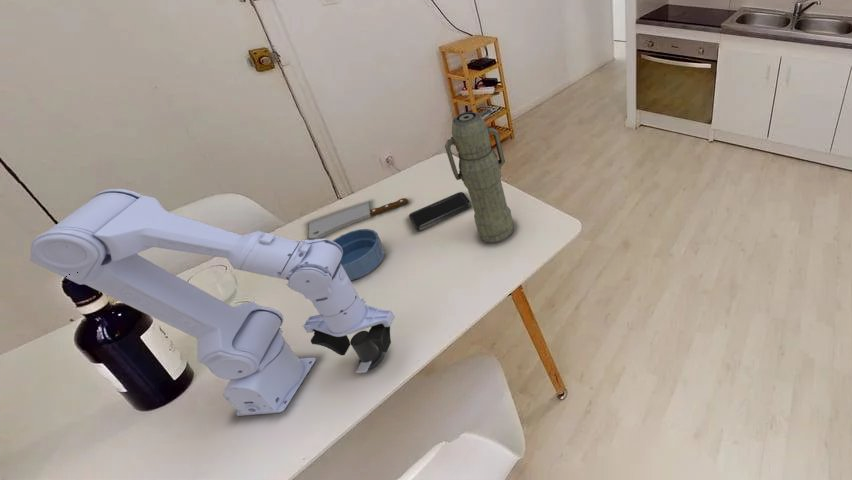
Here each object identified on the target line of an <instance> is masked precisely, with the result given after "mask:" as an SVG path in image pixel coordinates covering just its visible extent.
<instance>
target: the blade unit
mask: <svg viewBox="0 0 852 480" xmlns="http://www.w3.org/2000/svg"><path fill="white" fill-rule="evenodd" d="M368 332H369V330H360V331H357V332H355V333H354V335H353V336H352V337H351V339H350V340H349V341H350V346H351V347H352V349H353V351H354V352H355V353H356V355H357V357H358V358H359V360H358V367H357V369H356V372H355V374H365V373H367V372H368V371H370V370H374V369H375V368H376V367H378V366H379V365H380V364H381V363H382V362H383V360H384V358H385V352H381V351H380V350H379V349H378V347H377V346H376V345H375V344H374V343H373V342H371V341H369V340H365V337H366V336H367V334H368Z"/></svg>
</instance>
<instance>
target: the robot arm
mask: <svg viewBox="0 0 852 480" xmlns="http://www.w3.org/2000/svg"><path fill="white" fill-rule="evenodd" d="M153 248H156V249H157V248H158V249H163V250H170V251H177V252H184V253H190V254H196V255H203V256H211V257H216V258H217V257H218V258H223V259H227V260H228V262H229V264H230V265H231V268H232V269H234V270H238V271H243V272H247V273H251V274H258V275H261V276H266V277H270V278H275V279H281V280H284V281H285V280H286V281H287V283H286V286H287V287H288V288H289V289H291V290H292V291H294V292H297V293H300V294H302V295H303V296H304V298H305V299H306V300H309V301H310V302H311V304H312V305H313V307H314V308H315V310H316V311H317V313H318V314H316V315H310V316H309V317H308V318H307V320H306V321H305V322H304V324H303V325H302V327H303V329H304V331H306V333H313V336H312V337H311V339H310V343H311V344H312V345H317V346H321V347H324V348H326V349H329V350H331V351H332V352H334V353H335V354H337V355H340V356H345V355H346V353H347V352H348V350H349V348H350V346H351V344H350V341H351V340H350V339H349V337H348V335H351V334H355V333H358V332H360V331H364V330H366V329H369V328H370V329H369V330H368V334H367V336H366V337H365V340H369V341H371V342H373V343H374V344H375V345H376V346H377V347H378V349H379V350H380V351H381V352H384V353H387V352H388V349H389V347H390V346H391V344H392V341H391V326H392V324H393V322H394V320H395V318H396V317H395V314H394V312H393V310H392V309H391V310H390V309H389V310H387V309H381V308H378V307H375V306H372V305H368V304H366V302H367V301H366V299H365V298H361V297H360V295H359V293H358V292H357V290H356V288H355V286H354V285H353V283H352V280H350V279H349V277H348V275H347V274H346V272H345V270H344V268H343V267H342V265H341V264H340V261H341V258H342V255H343V250H342V248H341V246H340V245H338V244H337V243H335V242H333V240H330V239H328V238H320V239H315V240H310V239H302V240H301V241H299V240H296V239H292V238H287V237H284V236H280V235H277V234H272V233H269V232H264V231H260V230H255V231H252V232H249V233H245V234H239V233H236V232H232V231H229V230H227V229H224V228H221V227H217V226H215V225H211V224H208V223H205V222H202V221H198V220H195V219H193V218H189V217H186V216H184V215H180V214H177V213H173V212H170V211H167V210H166V209H164V207H163V206H162V204H161V202H160V201H159V200H158V199H157V198H156V197H154V196H149V195H142V194H141V193H139V192H136V191H133V190H130V189H124V188H109V189H105V190H102V191H99V192H97V193H96V194H95V195H93V196H92V198H91V199H90V200H88V201H87V202H86V203H84V204H83V205H81V206H80V207H79V208H77V209H76V210H74V211H73V212H72V213H70V214H69V215H68V216H66V217H65V218H64V219H62V220H61V221H59V222H57V224H55V225H53V226H52V227H50V229H48V230H47V231H44V232H42V233H40V234H39V235H37V236H36V237H35V238H34V239H33V240H31V243H30V251H29V253H30V254H29V255H30V259H29V260H30V262H31V263H34V264H36V265H37V266H40V267H42V268H43V269H46V270H47V271H50V272H52V273H54V274H57V275H58V276H61V277H63V278H65V277H66V276H67V277H66V278H65V279H67V280H69V281H71V282H73V283H75V284H77V285H85V286H88V287H90V288H91V289H93V290H96V291H98V292H100V293H102V294H104V295H106V296H107V297H110V298H112V299H114V300H116V301H119V302H120V303H123V304H124V305H127V306H129V307H131V308H133V309H135V310H137V311H139V312H141V313H143V314H145V315H148V316H149V317H151V318H154V319H156V320H157V321H159V322H162V323H164V324H166V325H168V326H171V327H172V328H174V329H176V330H179V331H180V332H182V333H185V334H187V335H189V336H191V337H193V338H195V339H196V340H197V347H196V348H197V353H196V359H197V360H196V361H197V363H199V364H202V365H204V366H205V367H207V369H208V370H209V371H210V372H211V373H212V374H213V375H214V376H216V377H218V378H220V379H223V380H229V381H228V383H227V385H226V387H225V389H224V390H223V393H222V396H223V398H224V399H225V400H226V401H227V402H228V403H229V404H230V405H231V406H232V407H233V408H234V409H235V410H236V413H235V415H236V416H238V417H241V416H252V415H253V416H255V415H266V414H267V415H268V414H278V413H279V414H280V413H283V412H284V411H285V410H286V408H287V407H288V405H289V403H290V402H291V400H292V399H293V397H294V396H295V394H296V392H297V391H298V390H299V388H300V386H301V385H302V383H303V382H304V380H305V378H306V376H308V373H309V372H310V370H311V369H312V367H313V366H314V364H315V363H316V361H317V358H316V357H301V358H299V357H298V355H297V354H296V352H295V351H294V350H293V349H292V347H291V345H289V343H288V342H287V341H286V339H285V337H283V334H284V330H283V329H282V327H281V326H283V323H284V315H283V314H282V313H281V312H280V311H279V310H277V309H275V308H272V307H269V306H262V305H261V304H257V303H256V302H255V301H248V302H245V303H241V304H239V305H236V306H232V305H230V304H228V303H227V302H224V301H223V300H221V299H219V298H217V297H216V296H214V295H212V294H210V293H208V292H207V291H205V290H204V289H201V288H199V287H198V286H196V285H194V284H192V283H190V282H188V281H186V280H184V278H181V277H180V276H177V275H175V274H174V273H172V272H170V271H168V270H167V269H165V268H163V267H161V266H160V265H157V264H156V263H154V262H152V261H151V260H149V259H147V258H145V257H143V256H141V255H140V254H138V253H141V252H144V251H146V250H149V249H153ZM77 272H78V273H77ZM69 274H70V275H69Z"/></svg>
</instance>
